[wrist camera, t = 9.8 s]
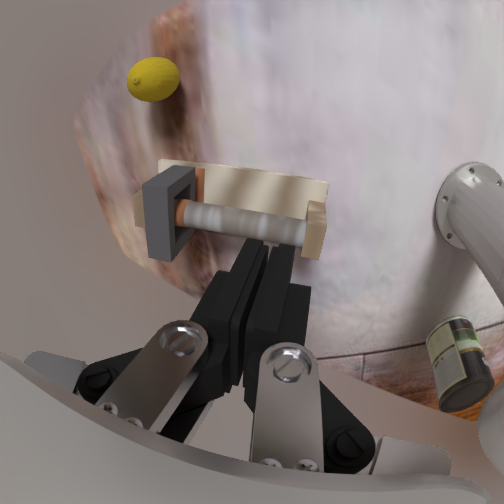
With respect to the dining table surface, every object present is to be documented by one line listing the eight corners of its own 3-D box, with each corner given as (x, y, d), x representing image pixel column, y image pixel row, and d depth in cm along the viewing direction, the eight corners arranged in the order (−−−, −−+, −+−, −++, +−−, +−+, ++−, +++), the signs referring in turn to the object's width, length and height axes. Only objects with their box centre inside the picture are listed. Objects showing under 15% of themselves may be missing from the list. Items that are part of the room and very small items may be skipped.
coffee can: (471, 306, 38) (497, 369, 26) (472, 340, 41) (491, 397, 29) (421, 328, 42) (437, 395, 30) (428, 359, 46) (440, 418, 34)
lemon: (171, 107, 32) (137, 114, 25) (143, 84, 30) (106, 87, 24) (198, 75, 29) (168, 72, 22) (168, 51, 28) (133, 45, 21)
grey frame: (195, 167, 33) (167, 187, 27) (194, 231, 38) (171, 262, 32) (173, 164, 33) (141, 184, 27) (174, 227, 38) (148, 257, 32)
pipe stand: (328, 182, 33) (332, 205, 27) (314, 245, 38) (313, 278, 32) (161, 159, 36) (130, 176, 29) (163, 218, 41) (137, 243, 34)
